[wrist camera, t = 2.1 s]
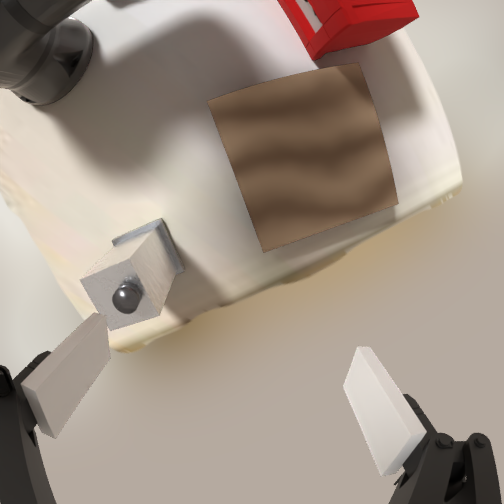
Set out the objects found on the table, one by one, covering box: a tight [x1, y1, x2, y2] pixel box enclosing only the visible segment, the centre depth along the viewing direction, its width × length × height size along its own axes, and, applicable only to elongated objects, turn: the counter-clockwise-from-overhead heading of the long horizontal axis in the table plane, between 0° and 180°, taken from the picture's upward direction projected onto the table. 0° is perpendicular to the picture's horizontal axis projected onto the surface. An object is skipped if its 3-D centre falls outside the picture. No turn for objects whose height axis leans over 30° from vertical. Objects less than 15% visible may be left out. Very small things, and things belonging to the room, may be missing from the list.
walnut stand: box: [207, 63, 398, 253], centre depth 35 cm, size 20×20×5 cm
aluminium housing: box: [80, 218, 185, 331], centre depth 33 cm, size 8×8×15 cm
